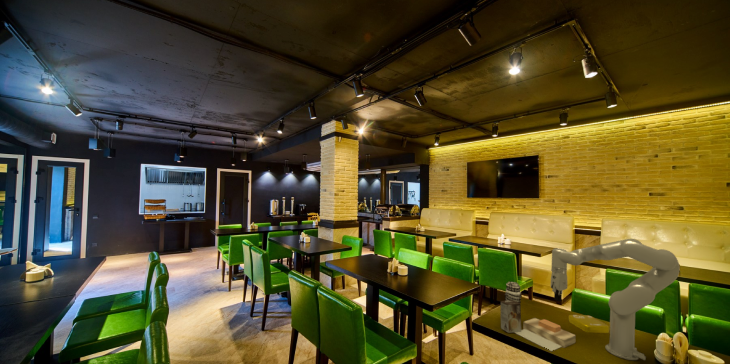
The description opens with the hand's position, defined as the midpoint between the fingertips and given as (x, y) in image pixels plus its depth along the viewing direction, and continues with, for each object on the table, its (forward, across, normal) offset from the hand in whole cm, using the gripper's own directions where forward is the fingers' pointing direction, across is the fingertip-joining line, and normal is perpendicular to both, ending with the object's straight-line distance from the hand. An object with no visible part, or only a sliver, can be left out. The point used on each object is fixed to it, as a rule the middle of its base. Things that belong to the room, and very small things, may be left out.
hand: (557, 300), depth 165 cm
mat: (+18, -21, 0) cm, 28 cm away
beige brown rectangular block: (+18, -10, 0) cm, 21 cm away
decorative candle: (+19, -16, +18) cm, 30 cm away
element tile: (+19, +25, -6) cm, 32 cm away
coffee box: (+18, -25, +12) cm, 33 cm away
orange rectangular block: (+14, -9, 0) cm, 17 cm away
